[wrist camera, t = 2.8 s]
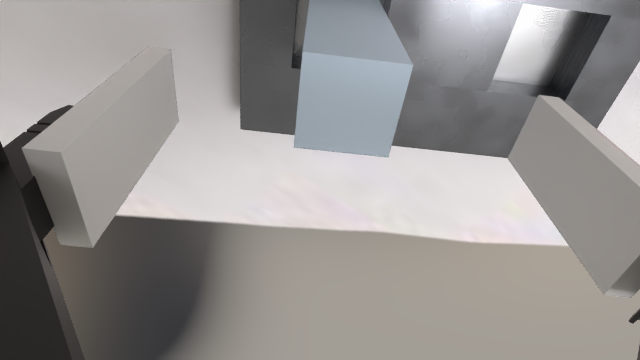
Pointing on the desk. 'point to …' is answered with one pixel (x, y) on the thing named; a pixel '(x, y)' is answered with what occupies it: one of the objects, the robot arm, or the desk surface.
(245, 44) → the dark grey base plate
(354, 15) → the pale blue rectangular prism
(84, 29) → the desk surface
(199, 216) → the desk surface
